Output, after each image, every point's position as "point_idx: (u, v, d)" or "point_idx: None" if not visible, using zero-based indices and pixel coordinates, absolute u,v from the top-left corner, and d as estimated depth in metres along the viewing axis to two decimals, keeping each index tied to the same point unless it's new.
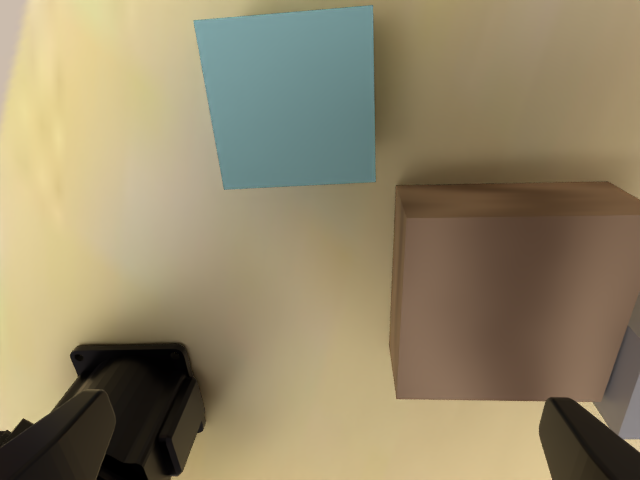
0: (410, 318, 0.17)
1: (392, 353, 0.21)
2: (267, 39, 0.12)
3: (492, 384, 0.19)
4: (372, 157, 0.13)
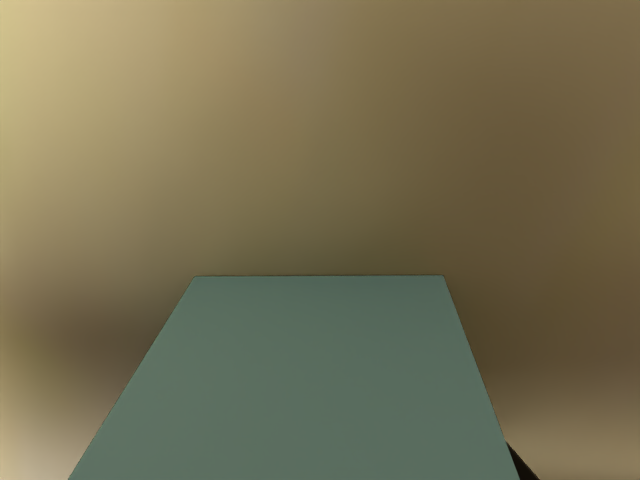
0: None
1: None
2: None
3: None
4: None
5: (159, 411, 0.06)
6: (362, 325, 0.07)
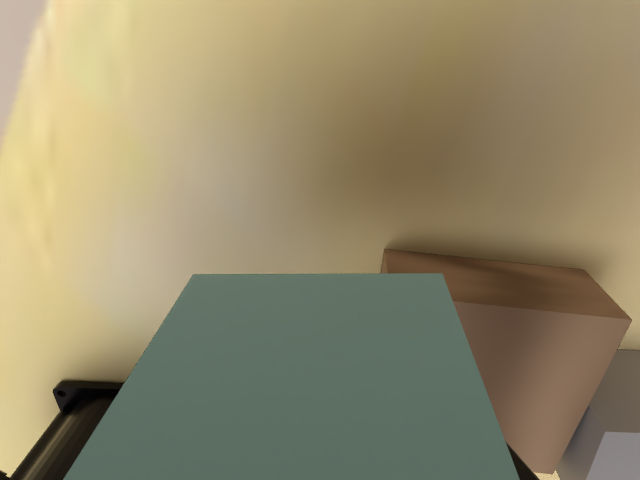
0: None
1: None
2: None
3: None
4: None
5: (157, 408, 0.06)
6: (361, 323, 0.07)
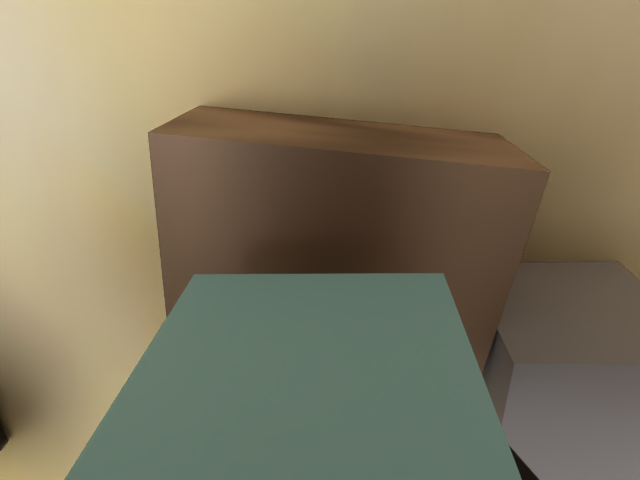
0: (178, 298, 0.12)
1: None
2: None
3: None
4: None
5: (158, 408, 0.06)
6: (362, 323, 0.07)
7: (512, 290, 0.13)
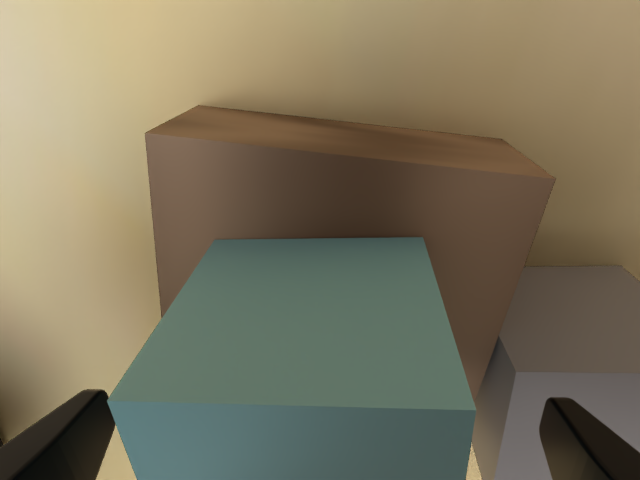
0: None
1: None
2: (254, 436, 0.06)
3: None
4: None
5: (192, 328, 0.07)
6: (352, 272, 0.09)
7: (513, 295, 0.13)
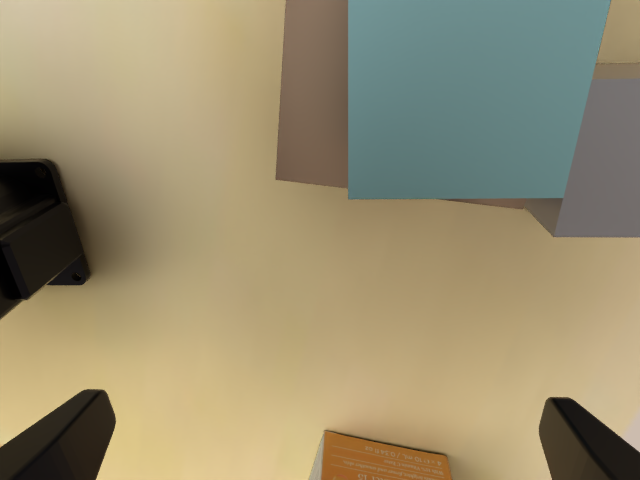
0: (295, 44, 0.13)
1: None
2: None
3: None
4: (567, 164, 0.10)
5: None
6: None
7: None
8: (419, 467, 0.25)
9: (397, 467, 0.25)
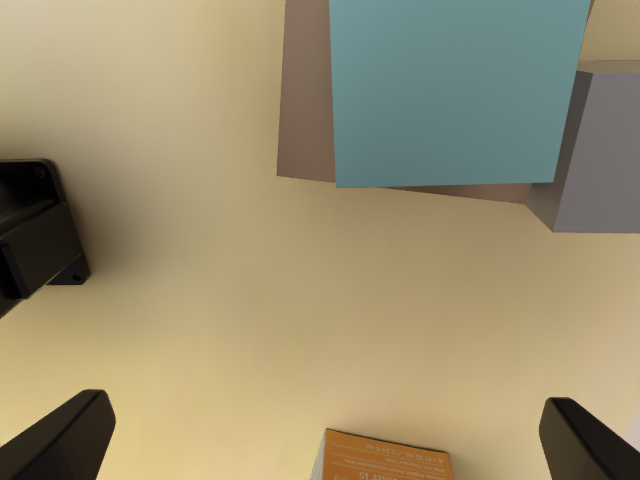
0: (296, 39, 0.13)
1: None
2: None
3: None
4: (556, 147, 0.09)
5: None
6: None
7: None
8: (420, 465, 0.25)
9: (398, 465, 0.25)
